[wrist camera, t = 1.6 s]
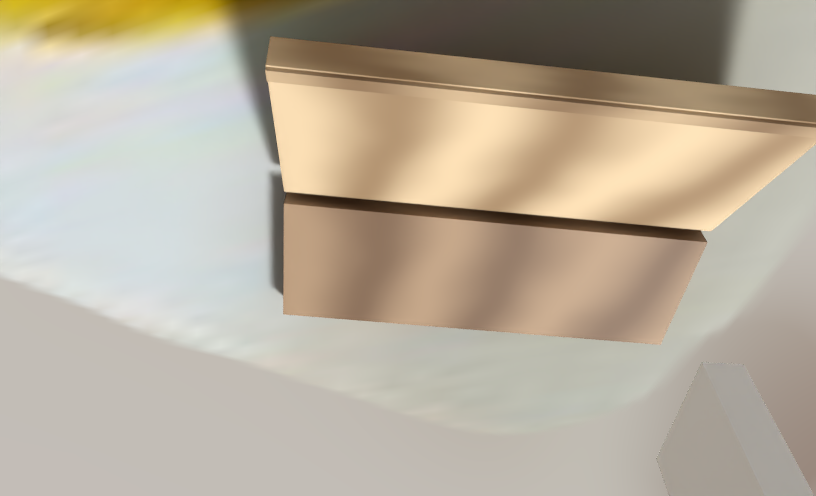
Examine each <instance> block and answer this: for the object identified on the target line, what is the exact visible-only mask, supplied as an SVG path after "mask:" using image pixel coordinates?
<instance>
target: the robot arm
mask: <svg viewBox="0 0 816 496" xmlns="http://www.w3.org/2000/svg"><path fill="white" fill-rule="evenodd" d="M656 459H657V462H658V465H659V468H660V471H661V474H662V476H663V479H664V482H665V485H666V488H667V491H668V494H669V496H814V495H813V493H812V491H811V489H810V487H809V485H808V483H807V482H806V480H805V478H804V476H803V474H802V472H801V470H800V468H799V467H798V465H797V463H796V461H795V459H794V457H793V455H792V453H791V452H790V450H789V448H788V446H787V444H786V442H785V440H784V439H783V437H782V435H781V433H780V431H779V429H778V427H777V426H776V424H775V422H774V420H773V418H772V416H771V414H770V412H769V410H768V409H767V407H766V405H765V403H764V401H763V399H762V397H761V396H760V394H759V392H758V390H757V388H756V386H755V385H754V383H753V381H752V379H751V377H750V375H749V373H748V371H747V369H746V367H745V366H744V365H743V364H726V363H709V362H702V363H701V365H700V367H699V369H698V371H697V374H696V376H695V377H694V380H693V382H692V384H691V386H690V388H689V390H688V393H687V394H686V397H685V399H684V401H683V403H682V405H681V407H680V409H679V411H678V414H677V416H676V418H675V420H674V422H673V424H672V427H671V429H670V431H669V433H668V435H667V437H666V439H665V442H664V443H663V445H662V448H661V450H660V452H659V454H658V456H657V458H656Z"/></svg>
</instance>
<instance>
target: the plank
mask: <svg viewBox="0 0 816 496" xmlns="http://www.w3.org/2000/svg"><path fill="white" fill-rule="evenodd" d="M265 73H266V79H267V82H268V85H269V92H270V99H271V106H272V112H273V119H274V126H275V133H276V140H277V146H278V153H279V160H280V167H281V174H282V180H283V187H284V192H293V193H304V194H315V195H326V196H337V197H347V198H358V199H369V200H380V201H391V202H401V203H412V204H423V205H434V206H445V207H455V208H466V209H477V210H488V211H499V212H509V213H520V214H531V215H542V216H553V217H563V218H574V219H585V220H596V221H607V222H617V223H628V224H639V225H650V226H661V227H671V228H682V229H693V230H704V231H712V230H713V229H714V228H715V227H717V226H718V225H719V224H720V223H721V222H723V221H724V220H725V219H726V218H727V217H729V216H730V215H731V214H732V213H733V212H735V211H736V210H737V209H738V208H739V207H741V206H742V205H743V204H744V203H746V202H747V201H748V200H749V199H750V198H752V197H753V196H754V195H755V194H756V193H758V192H759V191H760V190H761V189H762V188H764V187H765V186H766V185H767V184H768V183H770V182H771V181H772V180H773V179H774V178H776V177H777V176H778V175H779V174H780V173H782V172H783V171H784V170H785V169H786V168H788V167H789V166H790V165H791V164H792V163H794V162H795V161H796V160H797V159H798V158H800V157H801V156H802V155H803V154H805V153H806V152H807V151H808V150H809V149H811V148H812V147H813V146H814V145H815V144H816V95H812V94H802V93H793V92H784V91H774V90H765V89H756V88H747V87H737V86H728V85H719V84H709V83H700V82H691V81H681V80H672V79H663V78H653V77H644V76H635V75H626V74H616V73H607V72H598V71H588V70H579V69H570V68H560V67H551V66H542V65H532V64H523V63H514V62H505V61H495V60H486V59H477V58H467V57H458V56H449V55H439V54H430V53H421V52H411V51H402V50H393V49H384V48H374V47H365V46H356V45H346V44H337V43H328V42H318V41H309V40H300V39H290V38H281V37H272V36H270V41H269V47H268V53H267V59H266V69H265Z"/></svg>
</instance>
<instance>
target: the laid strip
mask: <svg viewBox="0 0 816 496" xmlns="http://www.w3.org/2000/svg"><path fill="white" fill-rule="evenodd" d="M706 244H707V241H706V239H705V238H704V236H703V234H702V233H701V230H693V229H682V228H671V227H661V226H650V225H639V224H628V223H617V222H607V221H596V220H585V219H574V218H563V217H553V216H542V215H531V214H520V213H509V212H499V211H488V210H477V209H466V208H455V207H445V206H434V205H423V204H412V203H401V202H391V201H380V200H369V199H358V198H347V197H337V196H326V195H315V194H304V193H293V192H287V193H286V197H285V201H284V280H283V314H287V315H299V316H312V317H324V318H336V319H349V320H361V321H373V322H386V323H398V324H411V325H423V326H435V327H448V328H460V329H473V330H485V331H497V332H510V333H522V334H534V335H547V336H559V337H572V338H584V339H596V340H609V341H621V342H633V343H646V344H658V345H661V342H662V340H663V338H664V336H665V334H666V331H667V329H668V327H669V325H670V323H671V321H672V318H673V316H674V314H675V312H676V310H677V308H678V305H679V303H680V301H681V299H682V297H683V294H684V292H685V290H686V288H687V286H688V284H689V281H690V279H691V277H692V275H693V273H694V270H695V268H696V266H697V264H698V262H699V260H700V257H701V255H702V253H703V251H704V249H705V247H706Z"/></svg>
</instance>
